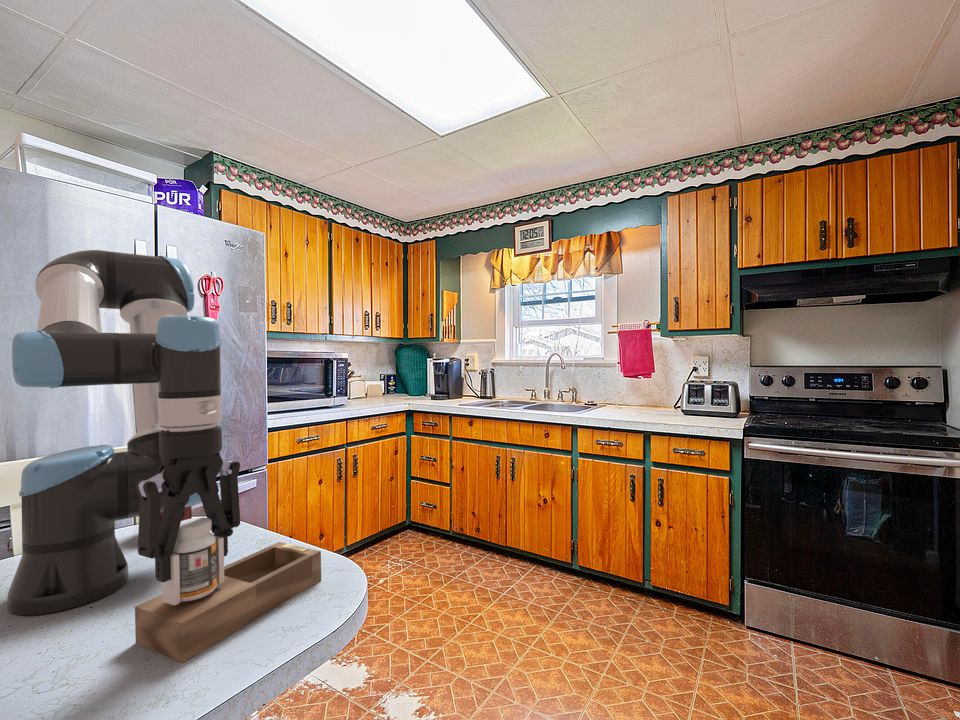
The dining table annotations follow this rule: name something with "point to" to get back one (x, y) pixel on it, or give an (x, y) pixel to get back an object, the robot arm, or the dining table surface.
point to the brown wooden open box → (227, 601)
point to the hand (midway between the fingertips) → (194, 590)
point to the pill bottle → (196, 558)
